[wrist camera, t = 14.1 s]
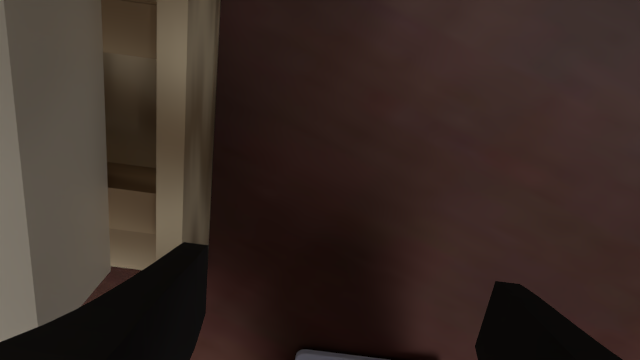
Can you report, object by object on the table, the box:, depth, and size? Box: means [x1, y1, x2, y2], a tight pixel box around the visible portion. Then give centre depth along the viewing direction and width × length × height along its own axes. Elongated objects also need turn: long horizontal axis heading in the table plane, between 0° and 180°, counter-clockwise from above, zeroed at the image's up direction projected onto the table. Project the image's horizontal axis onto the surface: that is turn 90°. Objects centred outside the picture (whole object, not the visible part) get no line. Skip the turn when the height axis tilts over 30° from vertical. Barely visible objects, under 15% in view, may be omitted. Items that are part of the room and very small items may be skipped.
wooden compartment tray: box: [101, 0, 221, 270], centre depth 19 cm, size 16×10×4 cm, turn 173°
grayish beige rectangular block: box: [0, 0, 111, 342], centre depth 15 cm, size 13×4×5 cm, turn 173°
